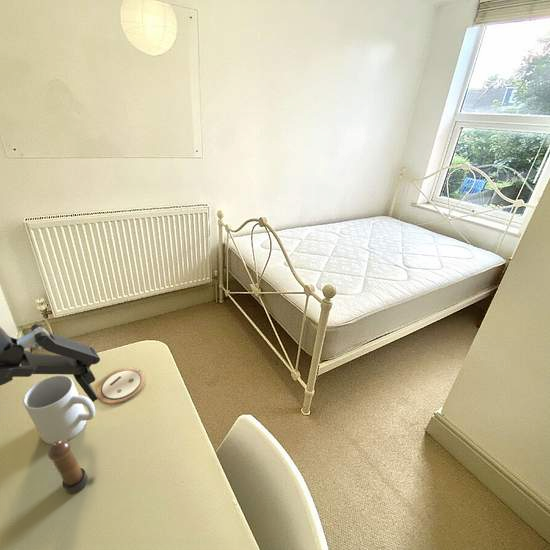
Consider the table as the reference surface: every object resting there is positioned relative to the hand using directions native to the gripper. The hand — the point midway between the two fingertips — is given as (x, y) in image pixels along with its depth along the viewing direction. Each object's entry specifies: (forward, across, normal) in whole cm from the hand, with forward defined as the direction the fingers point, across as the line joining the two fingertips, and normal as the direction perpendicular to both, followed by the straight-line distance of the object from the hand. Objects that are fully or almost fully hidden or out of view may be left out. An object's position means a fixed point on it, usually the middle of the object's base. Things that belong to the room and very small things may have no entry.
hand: (42, 424), depth 44 cm
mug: (+24, -1, +13) cm, 28 cm away
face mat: (+26, +11, +17) cm, 33 cm away
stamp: (+21, -3, 0) cm, 22 cm away
